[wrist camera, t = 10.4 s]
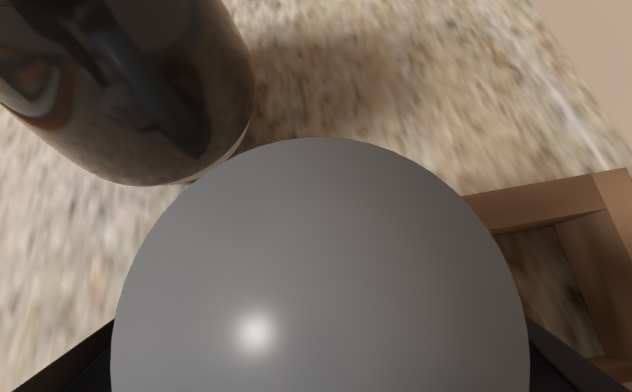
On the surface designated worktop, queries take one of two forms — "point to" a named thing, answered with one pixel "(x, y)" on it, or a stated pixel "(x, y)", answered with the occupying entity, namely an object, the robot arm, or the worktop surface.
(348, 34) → the worktop surface
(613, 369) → the block
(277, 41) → the worktop surface
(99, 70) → the dark egg-shaped device
